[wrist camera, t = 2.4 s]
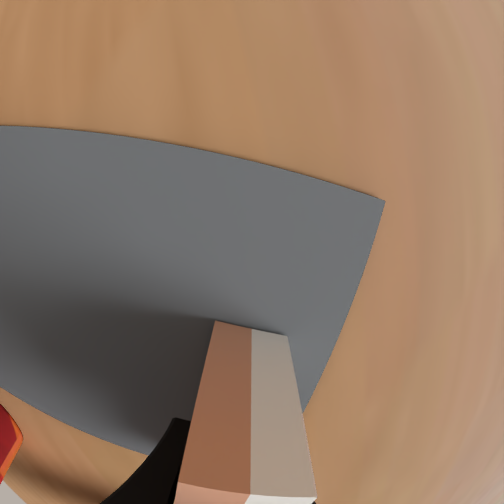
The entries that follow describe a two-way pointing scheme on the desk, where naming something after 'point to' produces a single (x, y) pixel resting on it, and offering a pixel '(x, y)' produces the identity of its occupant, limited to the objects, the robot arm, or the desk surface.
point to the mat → (160, 272)
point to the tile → (247, 425)
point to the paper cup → (8, 441)
